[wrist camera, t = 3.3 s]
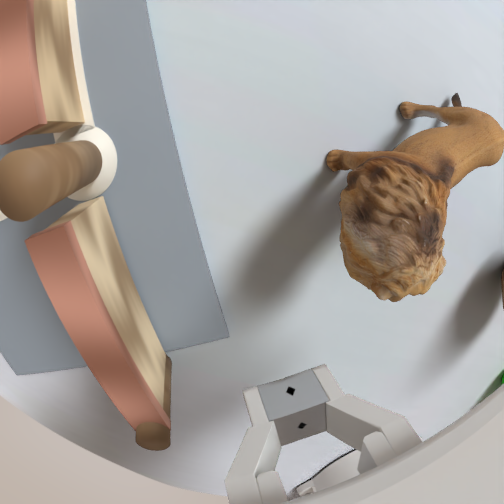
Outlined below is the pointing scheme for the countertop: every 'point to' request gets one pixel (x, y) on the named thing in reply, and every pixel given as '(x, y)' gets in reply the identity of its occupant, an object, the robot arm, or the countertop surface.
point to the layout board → (114, 198)
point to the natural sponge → (503, 283)
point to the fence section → (40, 109)
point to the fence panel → (106, 316)
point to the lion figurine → (409, 198)
